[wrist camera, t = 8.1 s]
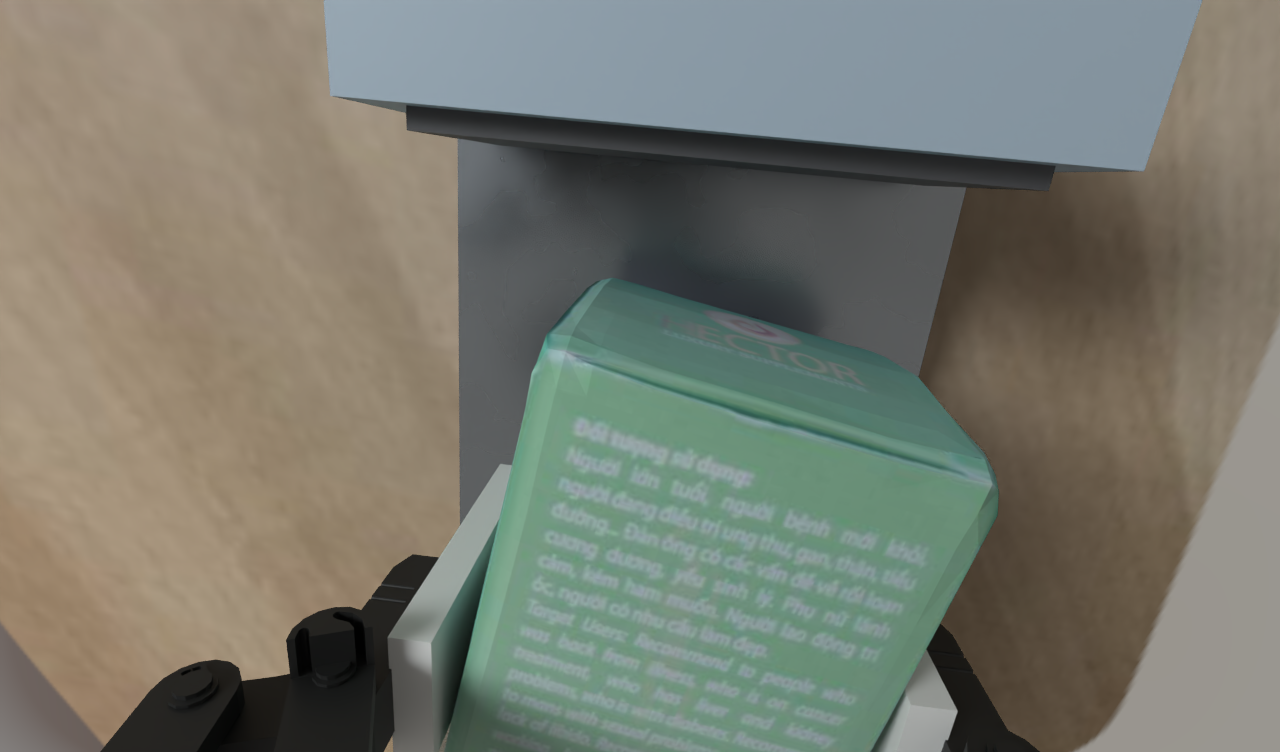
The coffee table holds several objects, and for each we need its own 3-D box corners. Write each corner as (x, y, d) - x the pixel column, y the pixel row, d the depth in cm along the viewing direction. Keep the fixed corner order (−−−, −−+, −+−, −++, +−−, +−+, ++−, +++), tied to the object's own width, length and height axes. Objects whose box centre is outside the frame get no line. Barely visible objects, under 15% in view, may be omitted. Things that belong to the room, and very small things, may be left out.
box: (881, 338, 15) (1045, 480, 8) (718, 721, 20) (732, 1027, 13) (603, 258, 15) (526, 330, 8) (501, 660, 20) (395, 933, 13)
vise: (476, -44, 17) (280, -249, 9) (989, -2, 16) (1291, -177, 8) (474, 685, 25) (373, 928, 17) (812, 730, 24) (874, 1002, 16)
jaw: (472, 2, 16) (315, -126, 9) (984, 46, 15) (1221, -55, 8) (472, 143, 17) (332, 122, 10) (949, 188, 16) (1134, 198, 9)
